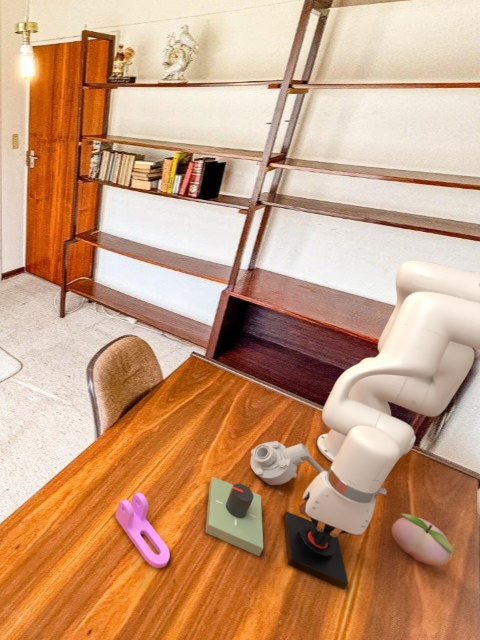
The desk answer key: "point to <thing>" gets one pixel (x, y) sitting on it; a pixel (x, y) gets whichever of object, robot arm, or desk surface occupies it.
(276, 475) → the valve
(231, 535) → the dial panel
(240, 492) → the dial knob
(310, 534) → the red button
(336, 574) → the button block
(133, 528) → the bracket
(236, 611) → the desk surface
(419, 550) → the decorative fruit
